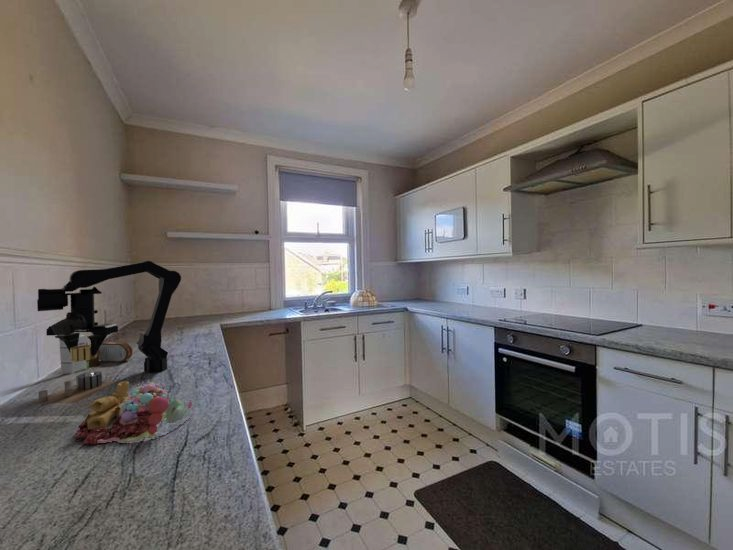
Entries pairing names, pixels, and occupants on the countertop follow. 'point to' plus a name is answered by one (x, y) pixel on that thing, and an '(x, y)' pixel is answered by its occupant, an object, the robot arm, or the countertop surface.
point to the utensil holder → (94, 360)
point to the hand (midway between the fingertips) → (83, 355)
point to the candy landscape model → (130, 414)
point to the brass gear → (81, 353)
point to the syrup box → (66, 362)
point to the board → (76, 394)
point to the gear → (89, 380)
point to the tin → (114, 351)
